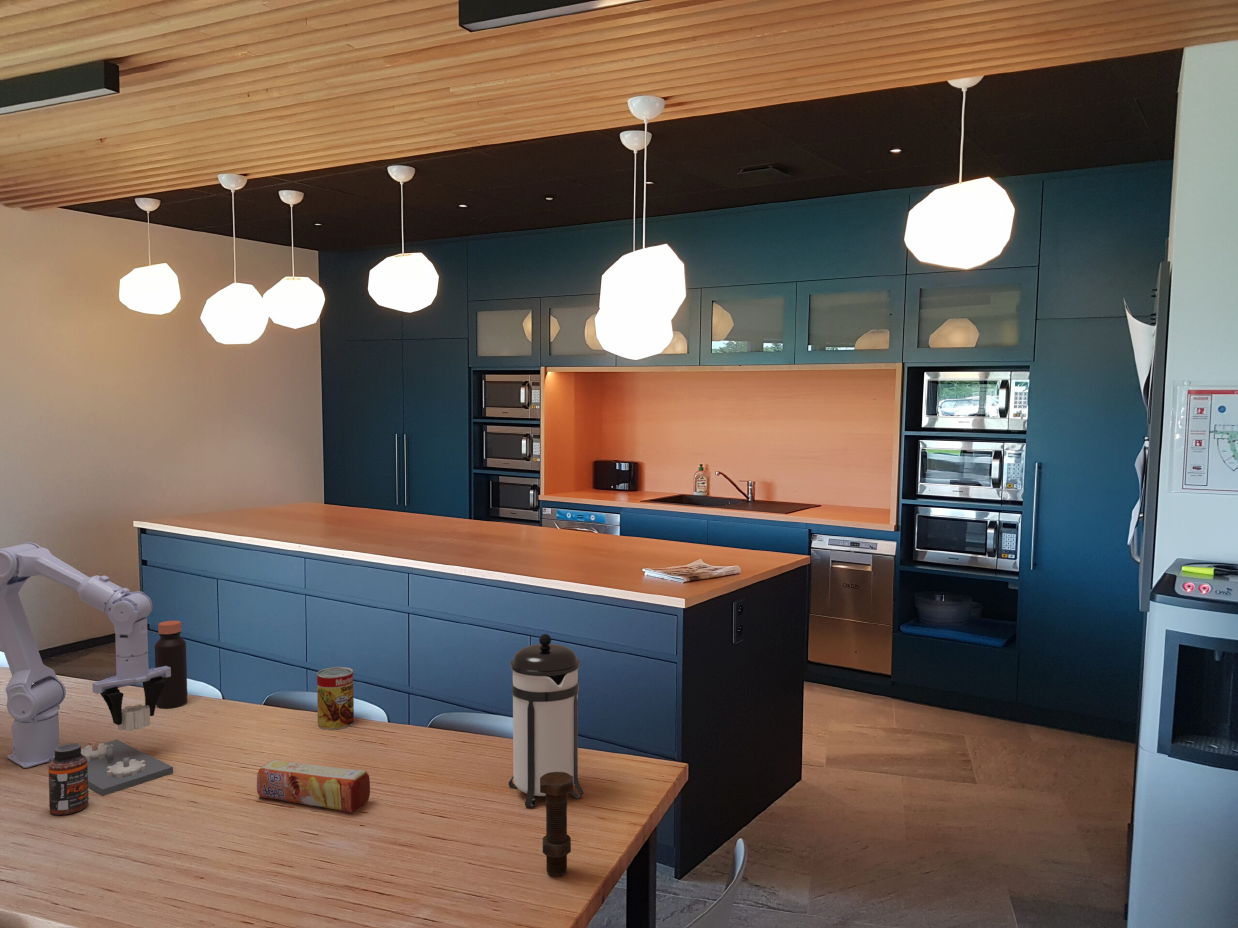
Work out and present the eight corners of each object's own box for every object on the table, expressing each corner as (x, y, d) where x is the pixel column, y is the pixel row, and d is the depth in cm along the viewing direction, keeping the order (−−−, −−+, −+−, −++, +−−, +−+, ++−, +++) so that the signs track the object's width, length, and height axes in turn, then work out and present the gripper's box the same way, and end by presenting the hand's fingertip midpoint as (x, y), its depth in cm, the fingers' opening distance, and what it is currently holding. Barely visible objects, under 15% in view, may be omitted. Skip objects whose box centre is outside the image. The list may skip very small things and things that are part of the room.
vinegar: (149, 707, 211) (147, 625, 210) (168, 698, 218) (166, 619, 217) (175, 709, 210) (173, 626, 209) (193, 700, 217) (191, 620, 216)
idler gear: (112, 726, 179) (112, 709, 179) (142, 718, 184) (141, 702, 184) (126, 733, 176) (125, 715, 176) (155, 724, 181) (155, 708, 180)
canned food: (347, 729, 197) (346, 677, 197) (312, 729, 197) (311, 676, 197) (358, 717, 205) (357, 666, 204) (324, 717, 205) (323, 666, 204)
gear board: (49, 764, 178) (48, 740, 177) (117, 744, 188) (116, 722, 188) (102, 795, 163) (101, 770, 163) (173, 772, 174) (172, 748, 173)
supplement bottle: (70, 817, 154) (67, 754, 154) (41, 814, 156) (38, 751, 155) (96, 803, 160) (94, 742, 160) (68, 800, 161) (66, 739, 161)
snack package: (253, 801, 162) (252, 765, 161) (277, 786, 168) (277, 751, 168) (351, 818, 155) (350, 780, 155) (373, 802, 161) (373, 766, 161)
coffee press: (601, 781, 170) (601, 628, 168) (561, 816, 155) (561, 648, 154) (523, 766, 177) (523, 618, 175) (478, 797, 163) (477, 637, 161)
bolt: (540, 863, 139) (540, 770, 138) (572, 862, 139) (572, 769, 139) (540, 883, 133) (539, 786, 132) (573, 881, 134) (573, 785, 133)
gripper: (103, 665, 171) (105, 733, 172) (177, 649, 183) (179, 713, 183) (86, 658, 175) (88, 725, 176) (160, 643, 187) (162, 706, 188)
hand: (133, 719), depth 180 cm, fingers closed on idler gear, 6 cm apart
